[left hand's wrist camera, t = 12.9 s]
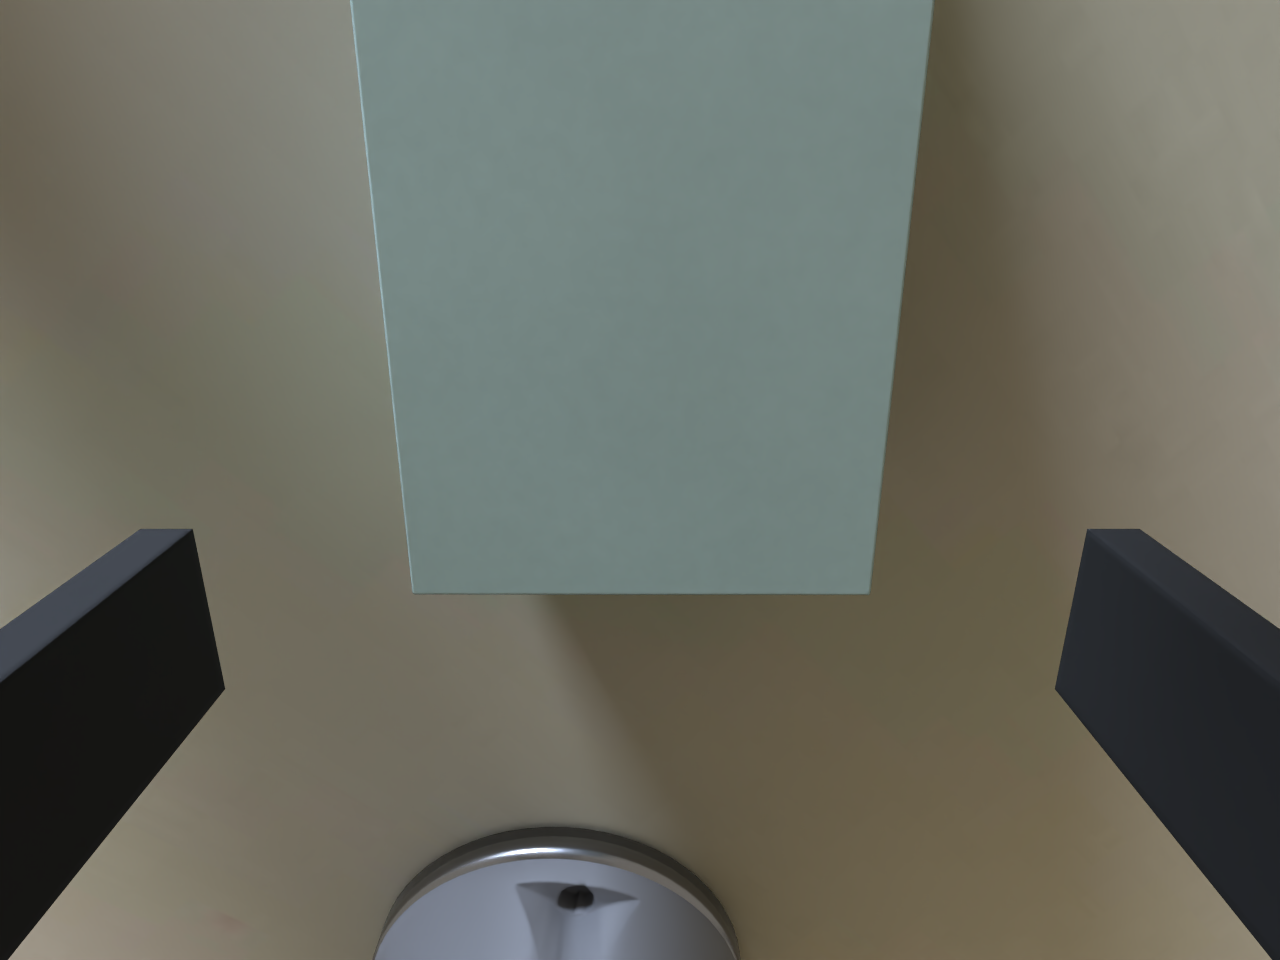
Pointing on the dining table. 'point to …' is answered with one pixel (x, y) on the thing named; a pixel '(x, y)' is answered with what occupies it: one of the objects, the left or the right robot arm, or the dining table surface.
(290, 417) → the dining table surface
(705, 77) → the grey boxy piece
